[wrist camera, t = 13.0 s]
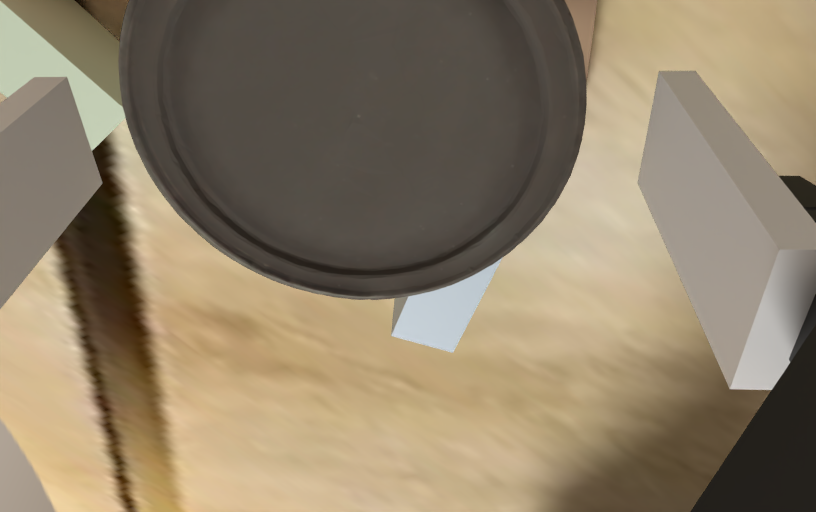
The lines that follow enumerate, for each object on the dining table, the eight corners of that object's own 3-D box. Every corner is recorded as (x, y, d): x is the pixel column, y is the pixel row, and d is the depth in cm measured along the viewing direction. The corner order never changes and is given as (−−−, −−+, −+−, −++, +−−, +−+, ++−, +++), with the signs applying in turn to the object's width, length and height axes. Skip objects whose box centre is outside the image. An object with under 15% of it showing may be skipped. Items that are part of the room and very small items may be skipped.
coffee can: (251, -213, 23) (70, -170, 12) (552, -179, 24) (651, -107, 12) (262, 76, 30) (149, 283, 18) (500, 101, 30) (534, 320, 18)
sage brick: (160, 77, 33) (129, 113, 29) (117, 119, 34) (83, 159, 31) (29, -44, 30) (-21, -18, 26) (-12, 9, 31) (-65, 40, 28)
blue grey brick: (452, 304, 40) (452, 352, 37) (395, 288, 40) (391, 335, 37) (498, 209, 36) (503, 254, 33) (436, 190, 36) (435, 234, 32)
